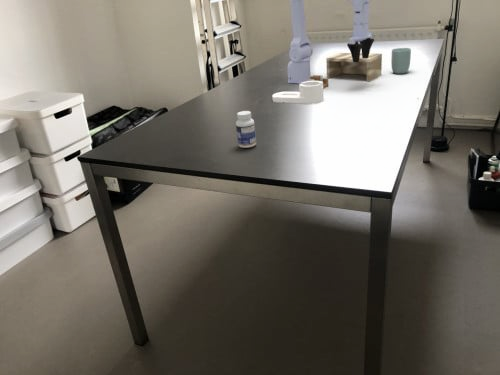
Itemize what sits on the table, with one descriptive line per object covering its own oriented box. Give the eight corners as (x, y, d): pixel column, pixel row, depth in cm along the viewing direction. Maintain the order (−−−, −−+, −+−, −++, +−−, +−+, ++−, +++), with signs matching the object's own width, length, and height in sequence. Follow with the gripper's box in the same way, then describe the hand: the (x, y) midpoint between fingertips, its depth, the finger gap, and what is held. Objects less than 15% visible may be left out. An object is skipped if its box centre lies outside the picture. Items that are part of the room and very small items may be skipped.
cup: (410, 74, 188) (412, 50, 184) (391, 75, 190) (392, 51, 186) (408, 70, 195) (409, 47, 191) (390, 71, 197) (391, 48, 193)
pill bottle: (237, 142, 133) (234, 111, 129) (255, 140, 133) (252, 109, 129) (238, 149, 128) (235, 116, 124) (257, 146, 128) (254, 114, 124)
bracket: (326, 98, 169) (326, 80, 166) (319, 104, 162) (318, 86, 159) (278, 97, 177) (277, 80, 175) (269, 103, 171) (268, 85, 168)
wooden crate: (326, 79, 196) (326, 58, 192) (340, 73, 204) (339, 52, 200) (369, 81, 184) (369, 59, 180) (381, 75, 192) (381, 53, 188)
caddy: (302, 93, 178) (301, 79, 176) (317, 86, 186) (317, 72, 184) (313, 94, 175) (312, 80, 173) (328, 87, 183) (328, 73, 181)
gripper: (361, 26, 160) (361, 64, 166) (379, 20, 169) (378, 56, 175) (344, 26, 164) (344, 63, 170) (362, 20, 174) (362, 56, 179)
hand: (360, 60), depth 173 cm, fingers open, 7 cm apart
